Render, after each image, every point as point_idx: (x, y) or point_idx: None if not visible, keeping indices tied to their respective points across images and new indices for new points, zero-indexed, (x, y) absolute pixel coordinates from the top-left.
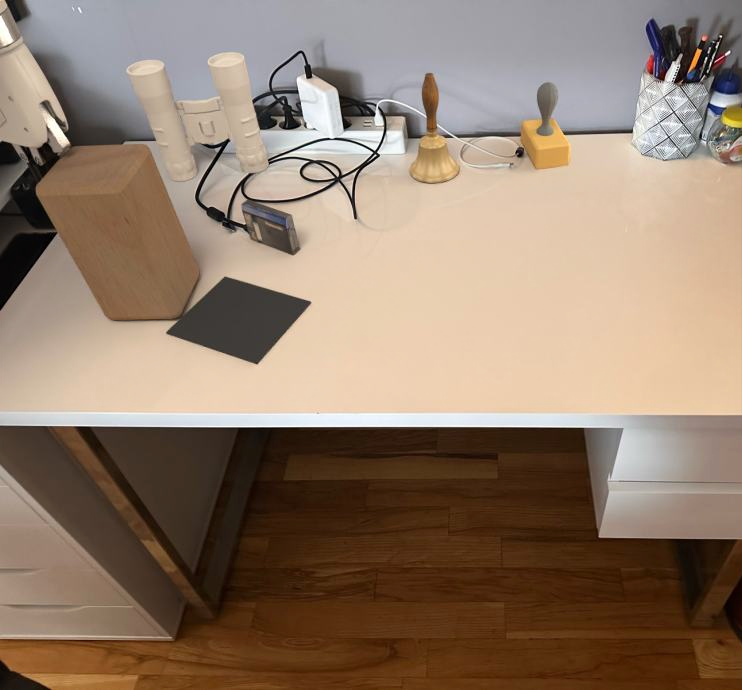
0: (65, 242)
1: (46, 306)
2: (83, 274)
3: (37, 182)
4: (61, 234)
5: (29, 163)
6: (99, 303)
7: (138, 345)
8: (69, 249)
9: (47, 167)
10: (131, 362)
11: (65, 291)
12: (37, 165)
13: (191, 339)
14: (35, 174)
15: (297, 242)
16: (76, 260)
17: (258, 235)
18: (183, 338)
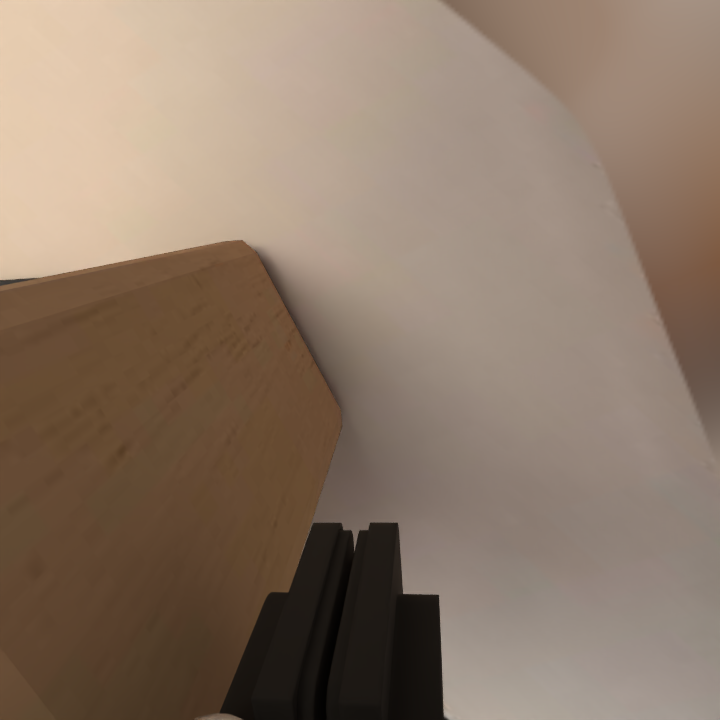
0: (66, 274)
1: (484, 203)
2: (164, 255)
3: (386, 563)
4: (29, 282)
5: (351, 709)
6: (219, 244)
7: (105, 207)
8: (92, 269)
9: (230, 708)
10: (66, 148)
11: (485, 281)
12: (254, 705)
13: (1, 285)
14: (354, 617)
15: None
16: (122, 263)
17: None
18: (21, 279)
